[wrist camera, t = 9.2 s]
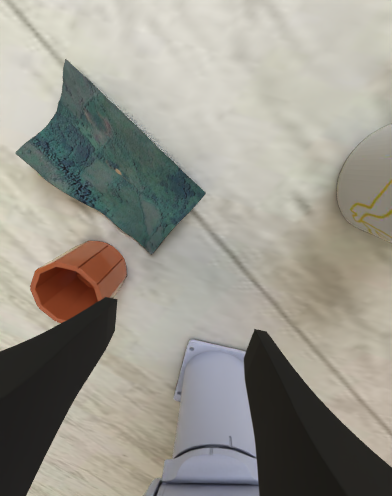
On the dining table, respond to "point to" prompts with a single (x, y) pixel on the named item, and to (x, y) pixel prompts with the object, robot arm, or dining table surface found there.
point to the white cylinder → (369, 185)
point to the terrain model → (110, 164)
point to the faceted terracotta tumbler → (78, 279)
